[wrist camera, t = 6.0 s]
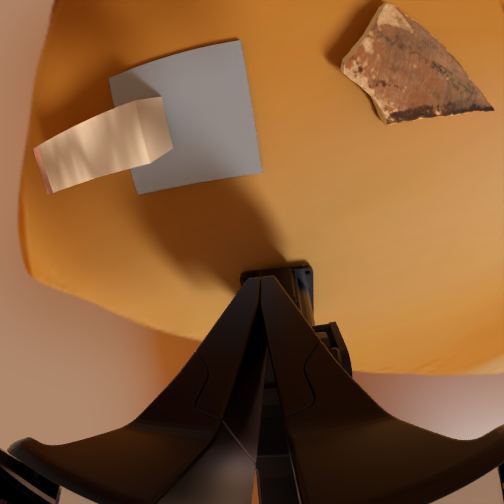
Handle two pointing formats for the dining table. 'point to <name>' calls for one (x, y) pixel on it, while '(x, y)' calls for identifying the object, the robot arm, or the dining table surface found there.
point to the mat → (196, 116)
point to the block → (105, 144)
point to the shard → (409, 71)
